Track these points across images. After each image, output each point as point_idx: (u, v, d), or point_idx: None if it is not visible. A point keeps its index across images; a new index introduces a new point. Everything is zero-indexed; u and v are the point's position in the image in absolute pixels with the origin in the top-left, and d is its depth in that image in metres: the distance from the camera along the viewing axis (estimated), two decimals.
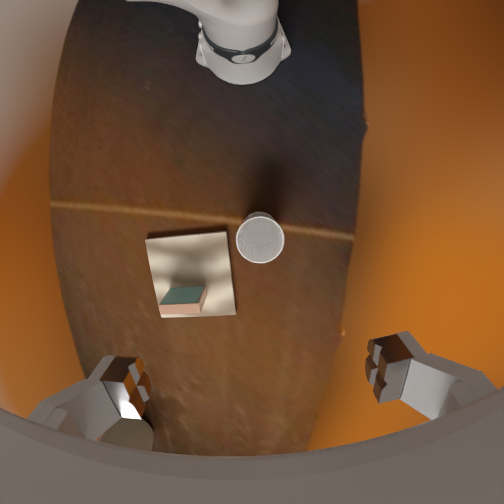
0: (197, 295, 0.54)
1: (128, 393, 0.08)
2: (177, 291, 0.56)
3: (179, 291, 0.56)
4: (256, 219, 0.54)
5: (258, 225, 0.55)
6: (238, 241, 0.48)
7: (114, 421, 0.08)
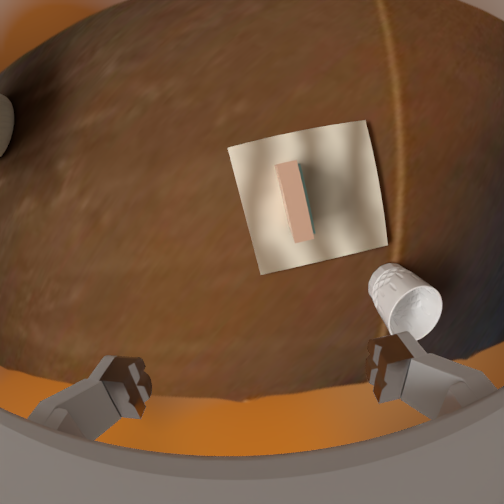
0: None
1: (128, 393, 0.08)
2: None
3: None
4: None
5: None
6: None
7: (114, 421, 0.08)
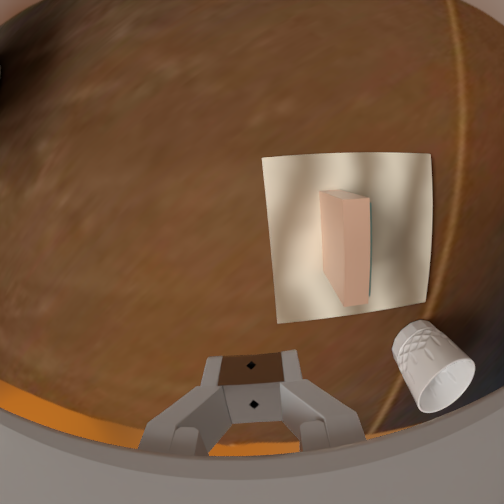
0: None
1: (252, 395, 0.08)
2: None
3: None
4: None
5: None
6: None
7: (225, 429, 0.08)
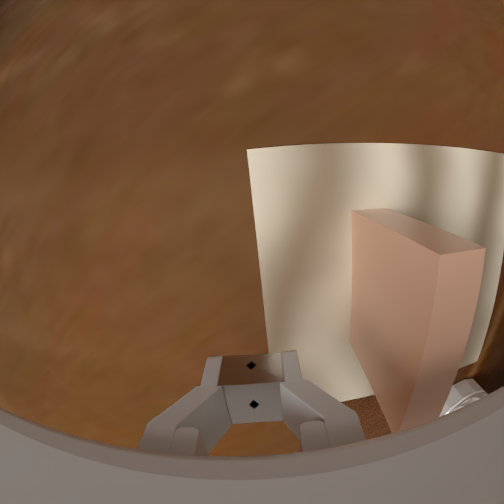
0: None
1: (252, 395, 0.08)
2: None
3: None
4: None
5: None
6: None
7: (225, 429, 0.08)
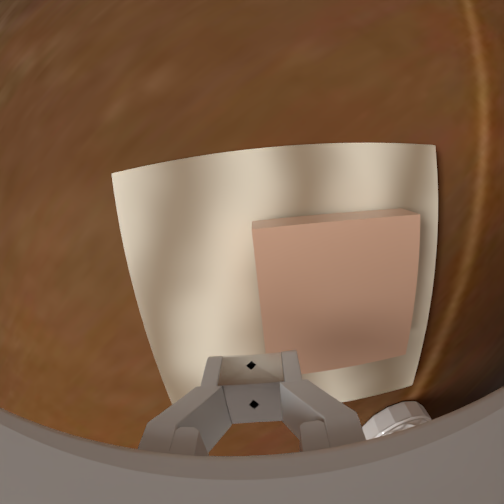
0: None
1: (252, 395, 0.08)
2: None
3: None
4: None
5: None
6: None
7: (225, 429, 0.08)
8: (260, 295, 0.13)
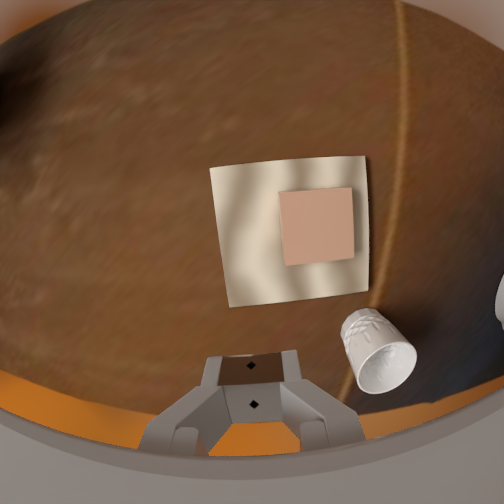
0: None
1: (252, 395, 0.08)
2: None
3: None
4: None
5: None
6: None
7: (225, 429, 0.08)
8: (282, 221, 0.30)
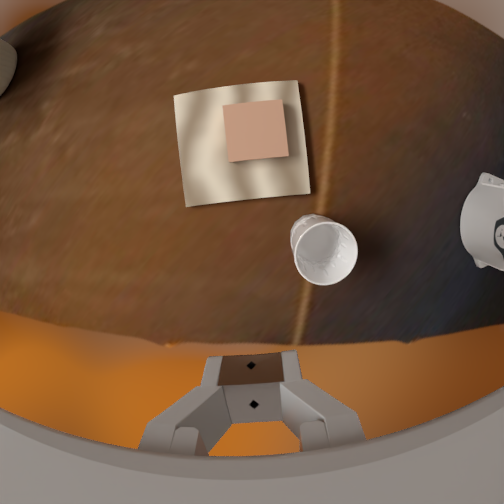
0: None
1: (252, 395, 0.08)
2: None
3: None
4: (327, 234, 0.41)
5: (319, 236, 0.41)
6: None
7: (225, 429, 0.08)
8: (225, 126, 0.35)
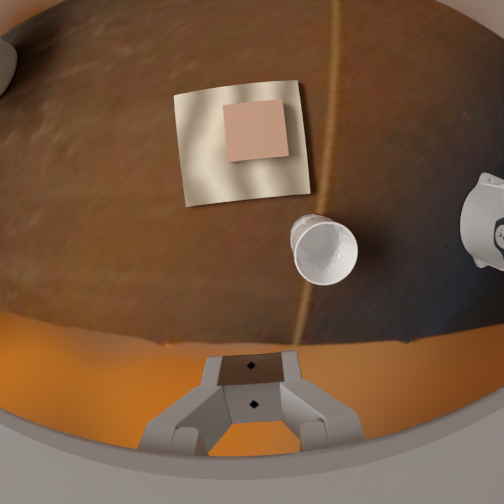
0: None
1: (252, 395, 0.08)
2: None
3: None
4: (327, 234, 0.41)
5: (319, 236, 0.41)
6: None
7: (225, 429, 0.08)
8: (225, 126, 0.35)
